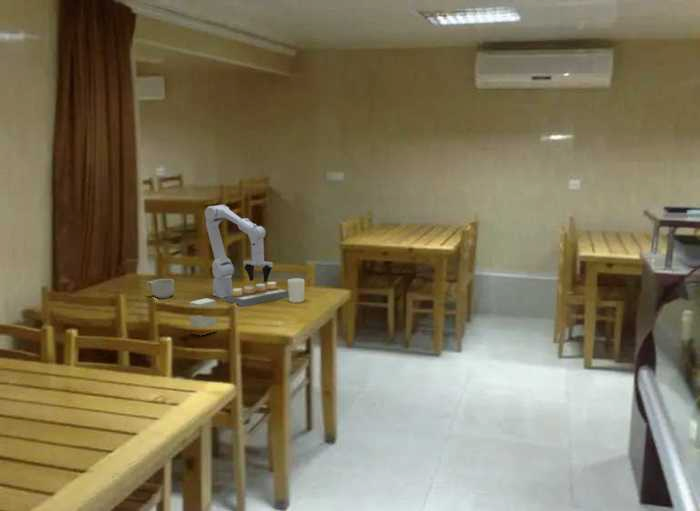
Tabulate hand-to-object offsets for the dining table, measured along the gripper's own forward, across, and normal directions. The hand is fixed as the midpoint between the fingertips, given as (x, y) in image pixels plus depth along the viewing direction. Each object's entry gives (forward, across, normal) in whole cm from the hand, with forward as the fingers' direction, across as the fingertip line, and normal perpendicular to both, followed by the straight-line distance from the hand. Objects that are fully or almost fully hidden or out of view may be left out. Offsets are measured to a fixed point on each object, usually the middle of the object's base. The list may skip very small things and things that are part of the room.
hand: (258, 281), depth 311 cm
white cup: (+9, +18, +4) cm, 20 cm away
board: (+9, -2, +1) cm, 9 cm away
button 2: (+7, -5, -1) cm, 9 cm away
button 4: (+7, +1, +11) cm, 13 cm away
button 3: (+7, -2, +5) cm, 9 cm away
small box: (+9, +7, -55) cm, 56 cm away
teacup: (+10, -50, -9) cm, 52 cm away
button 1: (+7, -8, -7) cm, 12 cm away
